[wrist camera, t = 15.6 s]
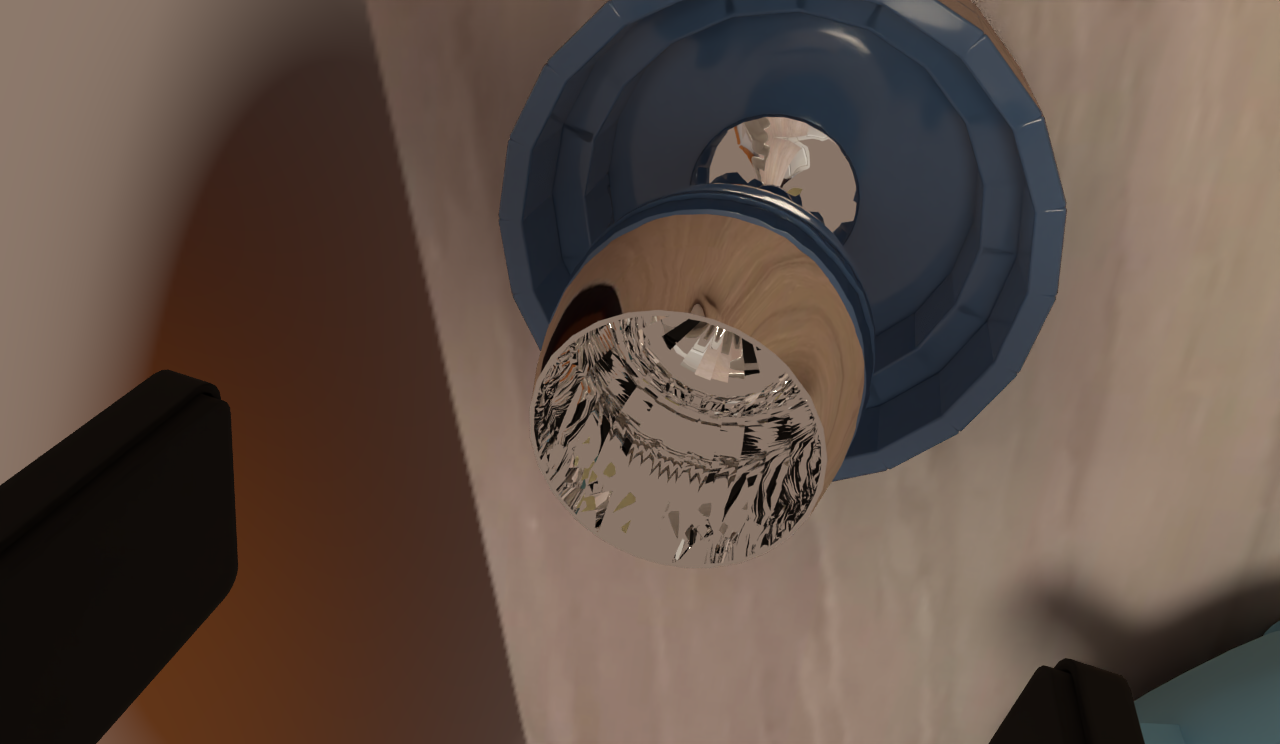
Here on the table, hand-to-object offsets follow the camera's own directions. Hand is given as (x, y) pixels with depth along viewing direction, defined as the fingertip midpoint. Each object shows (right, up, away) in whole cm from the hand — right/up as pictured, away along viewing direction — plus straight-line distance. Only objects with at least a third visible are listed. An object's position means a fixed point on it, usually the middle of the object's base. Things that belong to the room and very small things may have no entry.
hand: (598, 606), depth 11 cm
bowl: (+4, +8, +14) cm, 17 cm away
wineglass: (+4, +7, +14) cm, 16 cm away
